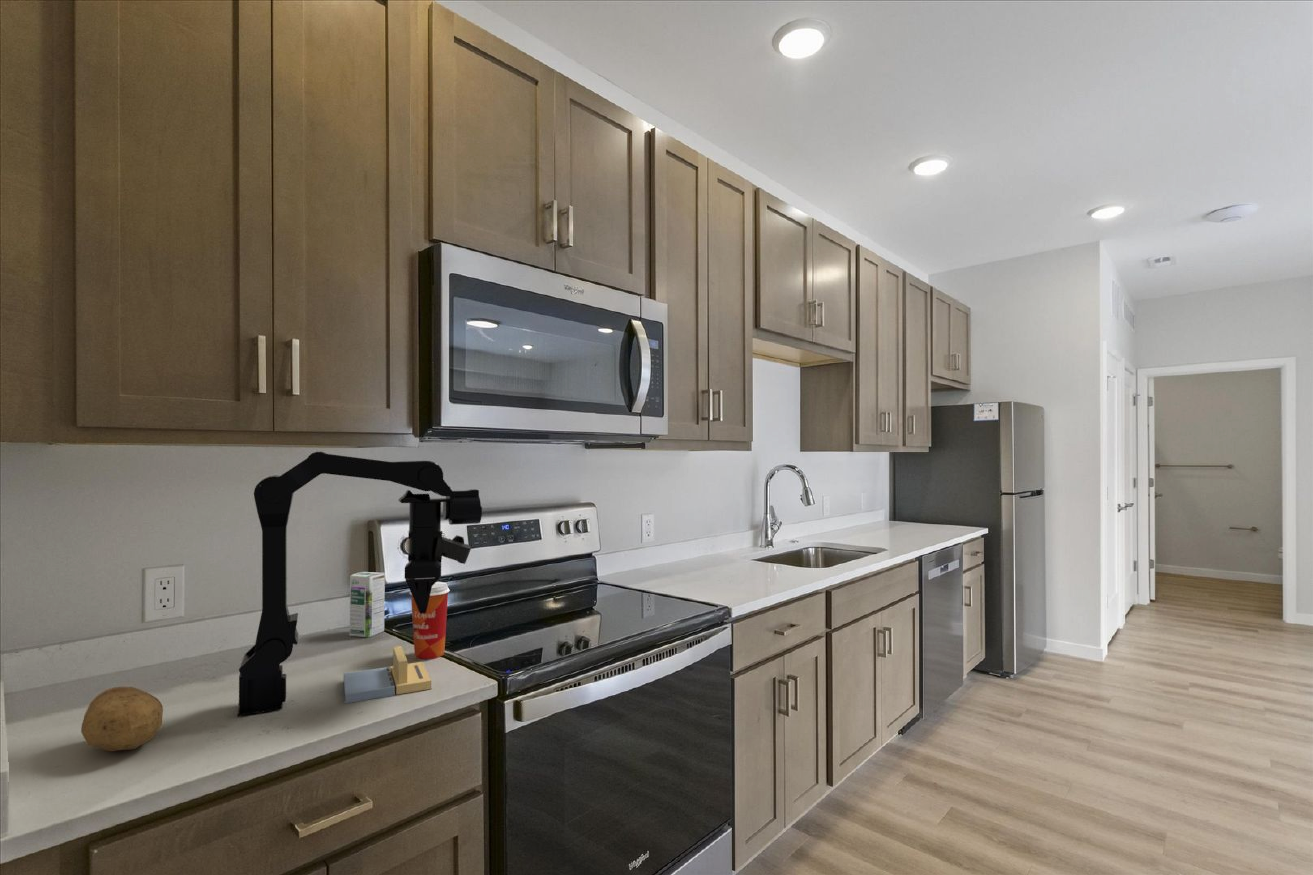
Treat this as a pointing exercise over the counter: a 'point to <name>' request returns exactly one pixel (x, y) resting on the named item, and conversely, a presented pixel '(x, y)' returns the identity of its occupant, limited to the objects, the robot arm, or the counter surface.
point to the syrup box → (367, 604)
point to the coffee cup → (431, 624)
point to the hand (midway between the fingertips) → (423, 607)
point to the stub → (408, 674)
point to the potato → (121, 719)
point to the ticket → (368, 684)
